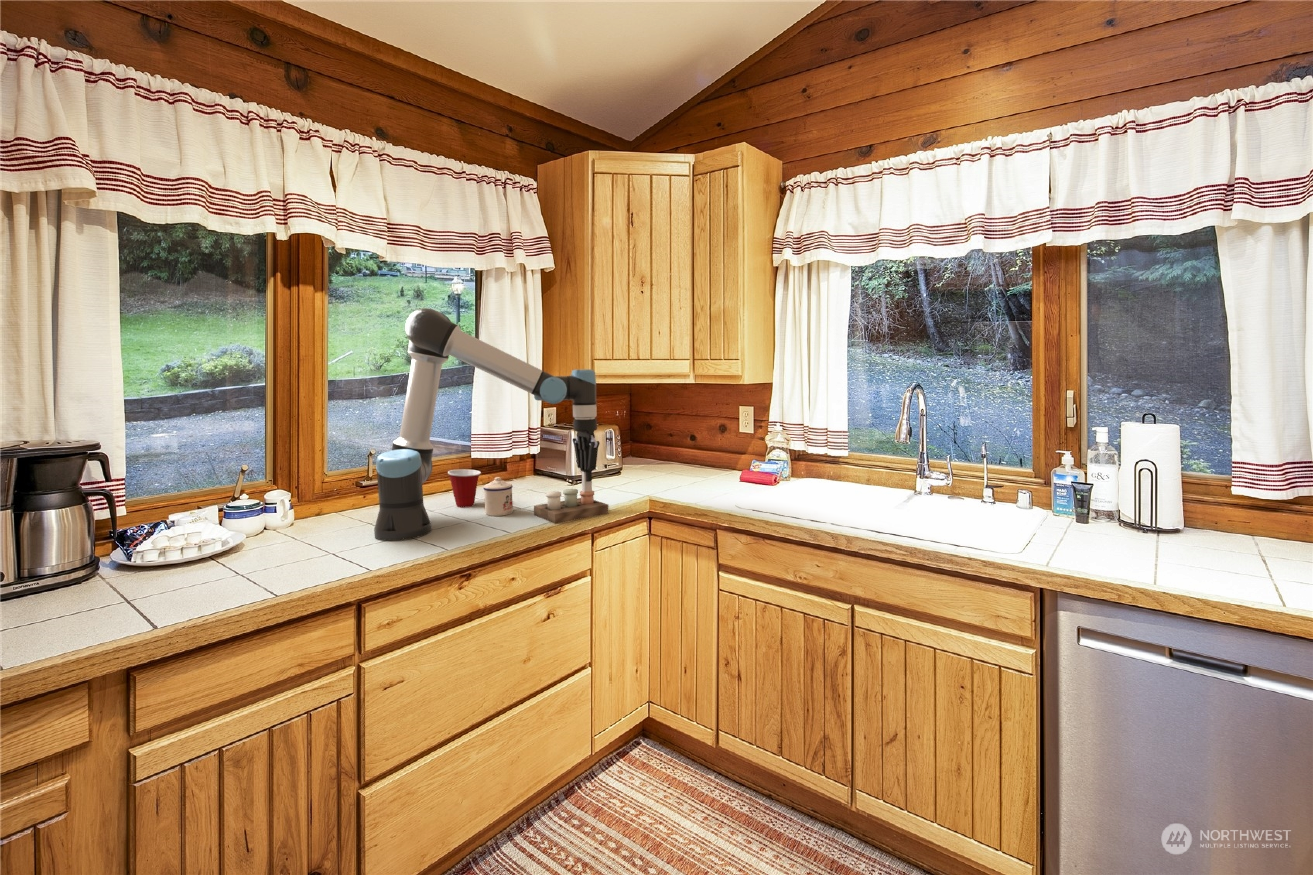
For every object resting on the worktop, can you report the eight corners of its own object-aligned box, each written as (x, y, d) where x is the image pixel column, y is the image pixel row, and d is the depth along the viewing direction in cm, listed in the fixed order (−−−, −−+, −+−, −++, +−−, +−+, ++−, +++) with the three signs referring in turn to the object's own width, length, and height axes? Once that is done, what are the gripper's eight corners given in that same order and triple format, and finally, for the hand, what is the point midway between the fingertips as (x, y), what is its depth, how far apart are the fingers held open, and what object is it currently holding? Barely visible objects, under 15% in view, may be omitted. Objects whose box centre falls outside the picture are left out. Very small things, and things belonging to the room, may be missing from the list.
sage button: (568, 508, 192) (567, 492, 191) (561, 506, 196) (560, 490, 195) (581, 506, 195) (580, 490, 194) (573, 504, 199) (573, 488, 198)
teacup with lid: (508, 516, 194) (507, 480, 193) (480, 516, 195) (478, 480, 193) (519, 507, 206) (518, 473, 204) (492, 507, 206) (491, 473, 205)
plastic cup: (478, 508, 205) (477, 473, 203) (445, 509, 204) (443, 474, 202) (485, 501, 215) (483, 467, 214) (454, 502, 215) (452, 468, 213)
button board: (555, 523, 184) (554, 514, 184) (534, 515, 195) (533, 505, 195) (608, 513, 196) (608, 504, 195) (585, 505, 207) (585, 497, 206)
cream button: (551, 511, 188) (550, 495, 188) (544, 509, 192) (543, 492, 191) (564, 509, 191) (563, 493, 191) (557, 506, 195) (556, 490, 194)
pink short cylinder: (585, 509, 196) (584, 493, 195) (577, 507, 200) (577, 491, 199) (597, 507, 199) (596, 491, 198) (589, 505, 202) (589, 489, 202)
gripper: (606, 418, 193) (608, 492, 196) (584, 416, 203) (586, 486, 206) (585, 420, 188) (587, 495, 191) (564, 417, 198) (566, 489, 201)
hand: (587, 490), depth 198 cm, fingers closed
